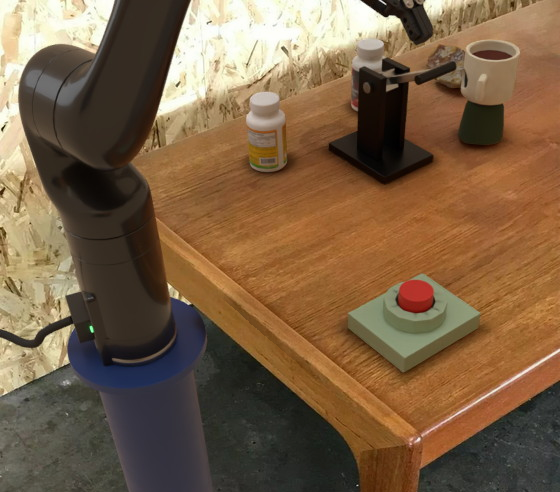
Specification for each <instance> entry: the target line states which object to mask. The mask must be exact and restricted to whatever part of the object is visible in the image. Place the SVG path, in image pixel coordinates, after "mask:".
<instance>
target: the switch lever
mask: <svg viewBox="0 0 560 492" xmlns="http://www.w3.org/2000/svg"><path fill="white" fill-rule="evenodd" d="M456 68H457V65H456V63H455V62H454V61H450V62H448V63H445V64H443V65H440V66H438V67H435V68H432V69H430V68H427V69H421V70H413V71H410V72H408V73H402V74H396V73H395V69H388V70H383V71H379V72H377V73H379V74H381V75H383V76H385V77H387V85H386V92H387V91H390V90H392V89H395V88H397V87H399V86H398V84H399V83H406V82H409V83H412V82H414V83H415V85H416V86H421V85H423V84H425V83H428V82H431V81H433V80H436V78H438V77H440V76H443V75H445V74H448V73H450V72H453V71H455V70H456Z"/></svg>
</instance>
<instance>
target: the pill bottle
mask: <svg viewBox="0 0 560 492" xmlns="http://www.w3.org/2000/svg"><path fill="white" fill-rule="evenodd" d="M355 51H356V56H354V57H353V59H352V60H351V86H350V87H351V89H350V106H351V108H352V110H354V111H355V112H357V113H358V89H359V68H361V67H364V66H365V67H367V68H369V69H371V70H373V71H375V72H379V71H382V59H384V58H387V57H386V56H385V43H384V41H383V40H381V39H379V38H374V37H372V38H371V37H369V38H368V37H367V38H363V39H361V40H358V41H357V42H356V50H355Z"/></svg>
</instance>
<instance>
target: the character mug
mask: <svg viewBox="0 0 560 492" xmlns="http://www.w3.org/2000/svg"><path fill="white" fill-rule="evenodd" d="M520 52H521V49H520V48H519V47H518V46H517V45H516V44H514V43H512V42H510V41H506V40H501V39H480V40H477V41H473V42H471V43H469V44H468V45H467V46H466V47H465V59H464V67H463V75H462V83H461V87H460V93H461V95H462V96H463V97H464V98H465V99H466V100H467V101H466V103H465V105H464V108H463V112H462V116H461V119H460V122H459V127H458V132H457V135H458V136H457V137H458V138H459V140H460V141H461V142H463V143H465V144H468V145H469V144H471V145H482V146H487V145H488V146H489V145H495V144H498V143H499V142H501V141H502V140H503V137H504V126H505V105H504V104H505V103H508V102H509V101H510V100H511V99H512V98H513V95H514V90H515V85H516V78H517V73H518V68H519V62H520V55H521V53H520Z"/></svg>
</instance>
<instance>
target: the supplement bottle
mask: <svg viewBox="0 0 560 492" xmlns="http://www.w3.org/2000/svg"><path fill="white" fill-rule="evenodd" d="M249 108H250V111H249V112H248V113H247V115H246V117H245V123H246V124H245V125H246V139H247V148H248V150H247V151H248V161H249V165H250V167H251V168H252V169H253V170H255V171H258V172H261V173H273V172H277V171H280V170H282V169H283V168H284V167H286V165H287V163H288V144H287V119H286V115H285V112H284V111H283V110H282V109H281V99H280V96H279V94H278V93H275V92H272V91H259V92H256V93H254V94H252V95H251V97H250V98H249Z"/></svg>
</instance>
